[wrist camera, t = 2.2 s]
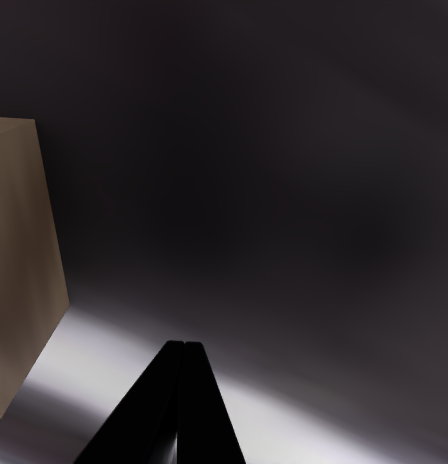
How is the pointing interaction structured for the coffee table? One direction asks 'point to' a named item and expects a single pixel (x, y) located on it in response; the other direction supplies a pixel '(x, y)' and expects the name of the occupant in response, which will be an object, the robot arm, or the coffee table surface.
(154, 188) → the coffee table surface
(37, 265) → the brown wooden block
